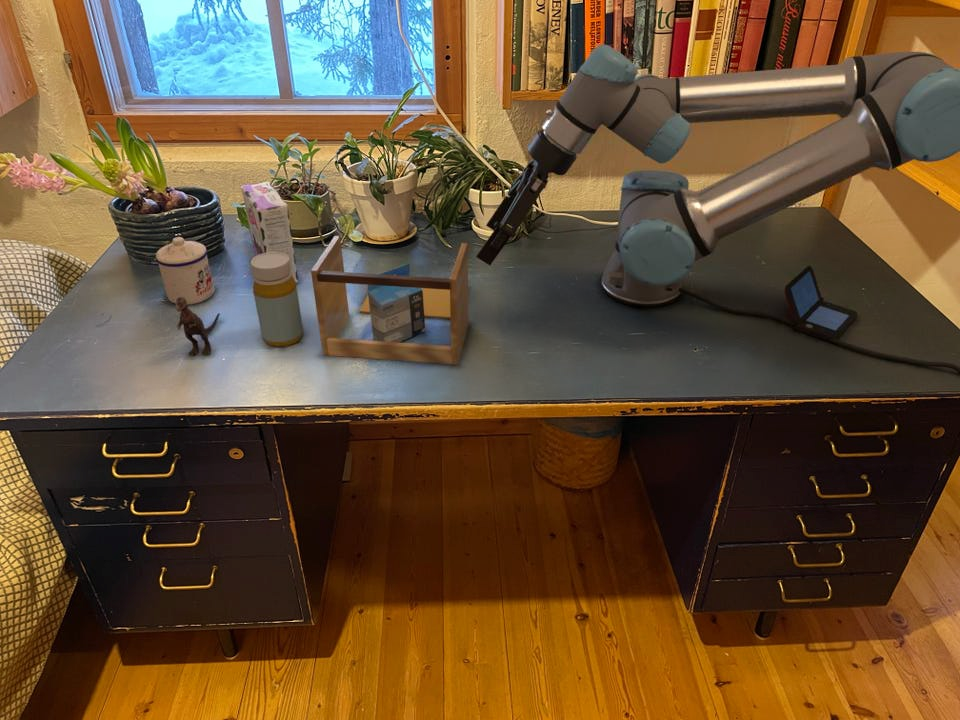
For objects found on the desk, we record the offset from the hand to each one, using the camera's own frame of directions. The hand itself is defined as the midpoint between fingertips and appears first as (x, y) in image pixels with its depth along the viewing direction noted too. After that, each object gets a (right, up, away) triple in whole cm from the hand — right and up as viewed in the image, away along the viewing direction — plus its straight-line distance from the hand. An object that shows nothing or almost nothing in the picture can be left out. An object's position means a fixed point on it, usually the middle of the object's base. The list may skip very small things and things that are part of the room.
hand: (488, 244), depth 128 cm
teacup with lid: (-57, -7, +16) cm, 59 cm away
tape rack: (-16, -16, +1) cm, 23 cm away
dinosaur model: (-49, -17, +1) cm, 52 cm away
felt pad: (-14, -9, +13) cm, 21 cm away
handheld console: (+60, -13, +7) cm, 61 cm away
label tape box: (-16, -16, +2) cm, 22 cm away
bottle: (-36, -16, +2) cm, 39 cm away
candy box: (-43, -2, +22) cm, 48 cm away
